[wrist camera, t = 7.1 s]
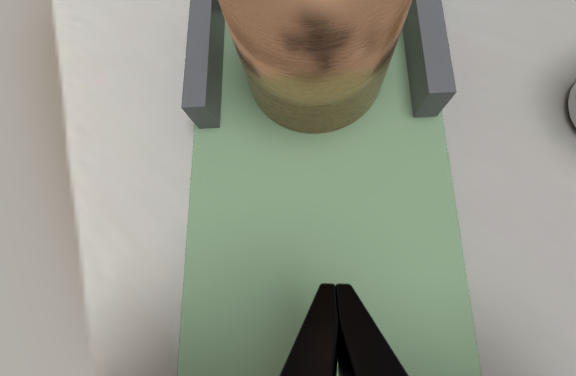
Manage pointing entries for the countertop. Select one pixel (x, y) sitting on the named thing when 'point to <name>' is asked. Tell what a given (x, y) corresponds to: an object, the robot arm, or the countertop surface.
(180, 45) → the countertop surface
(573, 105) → the supplement bottle
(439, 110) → the shallow gray tray
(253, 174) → the green
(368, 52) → the copper metal cylinder
